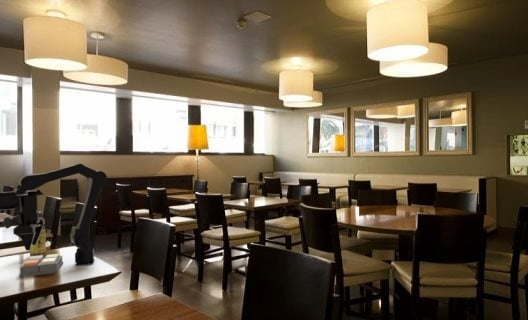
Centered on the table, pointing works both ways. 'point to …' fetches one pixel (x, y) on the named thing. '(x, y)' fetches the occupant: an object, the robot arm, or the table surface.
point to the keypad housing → (41, 268)
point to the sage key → (53, 256)
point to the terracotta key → (31, 262)
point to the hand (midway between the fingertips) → (31, 247)
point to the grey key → (36, 257)
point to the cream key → (49, 261)
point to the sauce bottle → (39, 242)
